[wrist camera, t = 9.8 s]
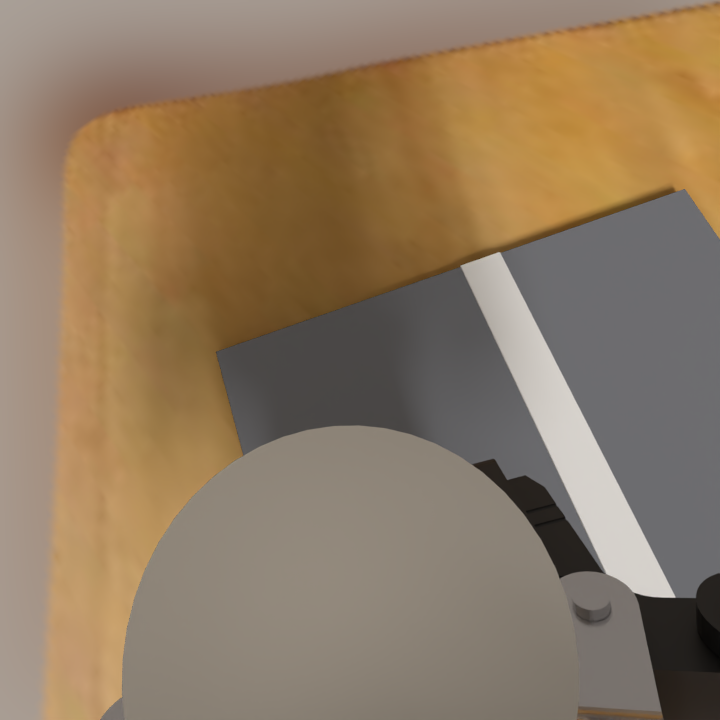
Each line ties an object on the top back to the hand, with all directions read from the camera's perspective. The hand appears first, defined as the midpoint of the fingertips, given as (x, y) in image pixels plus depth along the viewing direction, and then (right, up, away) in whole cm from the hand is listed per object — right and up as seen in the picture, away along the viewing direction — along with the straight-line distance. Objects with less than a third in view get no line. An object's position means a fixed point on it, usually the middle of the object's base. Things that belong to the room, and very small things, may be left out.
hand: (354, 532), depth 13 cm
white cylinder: (+1, -3, +3) cm, 5 cm away
